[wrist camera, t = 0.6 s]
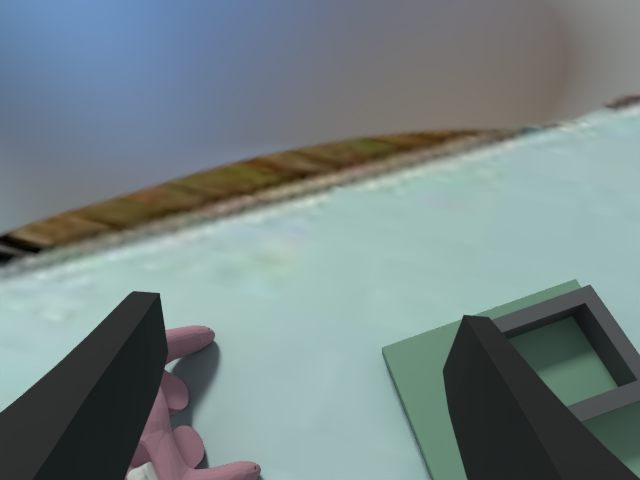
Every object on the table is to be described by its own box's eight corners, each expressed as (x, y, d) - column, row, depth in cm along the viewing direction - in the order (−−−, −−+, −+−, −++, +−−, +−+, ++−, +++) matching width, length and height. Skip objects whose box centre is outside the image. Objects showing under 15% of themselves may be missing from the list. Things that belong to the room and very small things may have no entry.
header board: (784, 609, 19) (848, 627, 17) (523, 712, 19) (546, 748, 16) (568, 287, 28) (588, 263, 25) (382, 353, 27) (381, 336, 24)
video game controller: (171, 357, 30) (69, 352, 25) (217, 320, 29) (121, 306, 23) (215, 515, 26) (100, 554, 20) (273, 479, 24) (168, 510, 18)
